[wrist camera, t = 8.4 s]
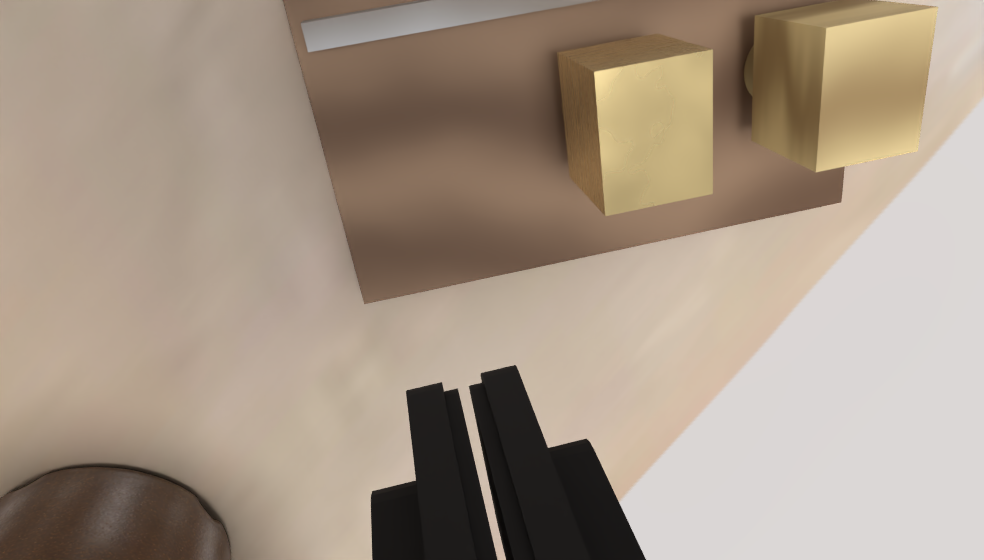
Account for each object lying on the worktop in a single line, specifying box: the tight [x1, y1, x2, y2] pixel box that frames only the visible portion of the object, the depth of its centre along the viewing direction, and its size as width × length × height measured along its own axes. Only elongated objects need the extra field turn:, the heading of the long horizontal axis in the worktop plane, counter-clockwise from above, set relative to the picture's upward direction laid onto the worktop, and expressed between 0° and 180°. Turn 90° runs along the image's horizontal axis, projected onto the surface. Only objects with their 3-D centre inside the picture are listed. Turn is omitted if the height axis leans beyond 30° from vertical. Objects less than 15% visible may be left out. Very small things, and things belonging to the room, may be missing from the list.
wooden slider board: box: [283, 0, 938, 304], centre depth 26 cm, size 14×23×8 cm, turn 98°
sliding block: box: [557, 34, 713, 216], centre depth 26 cm, size 5×4×6 cm
